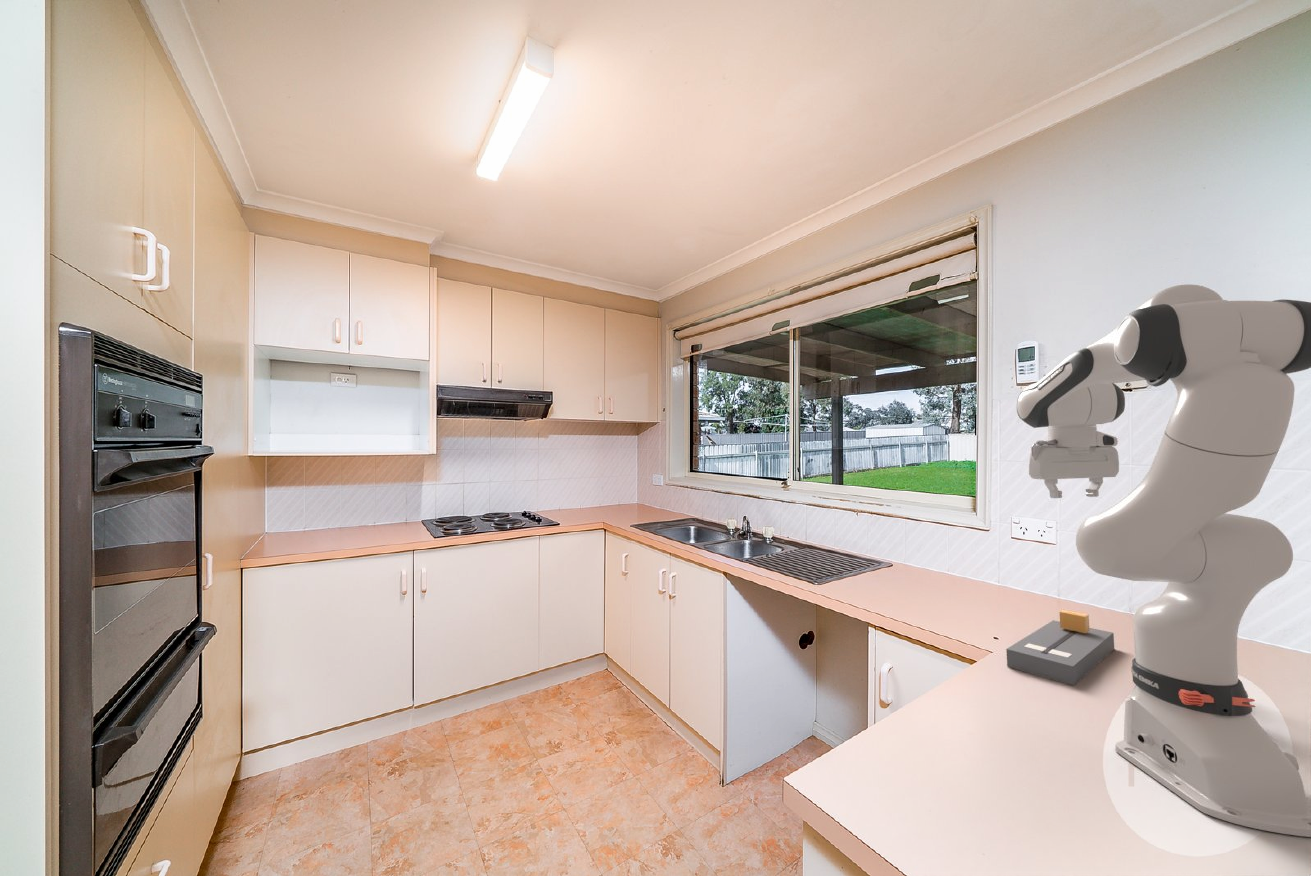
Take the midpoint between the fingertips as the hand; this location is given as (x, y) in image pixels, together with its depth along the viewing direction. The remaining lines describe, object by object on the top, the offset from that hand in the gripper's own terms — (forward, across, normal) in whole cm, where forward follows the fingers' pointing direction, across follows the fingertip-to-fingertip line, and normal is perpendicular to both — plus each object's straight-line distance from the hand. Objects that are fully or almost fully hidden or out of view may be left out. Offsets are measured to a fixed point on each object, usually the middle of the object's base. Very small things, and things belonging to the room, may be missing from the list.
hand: (1074, 497), depth 116 cm
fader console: (+38, -3, +1) cm, 38 cm away
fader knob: (+34, +5, +6) cm, 35 cm away
